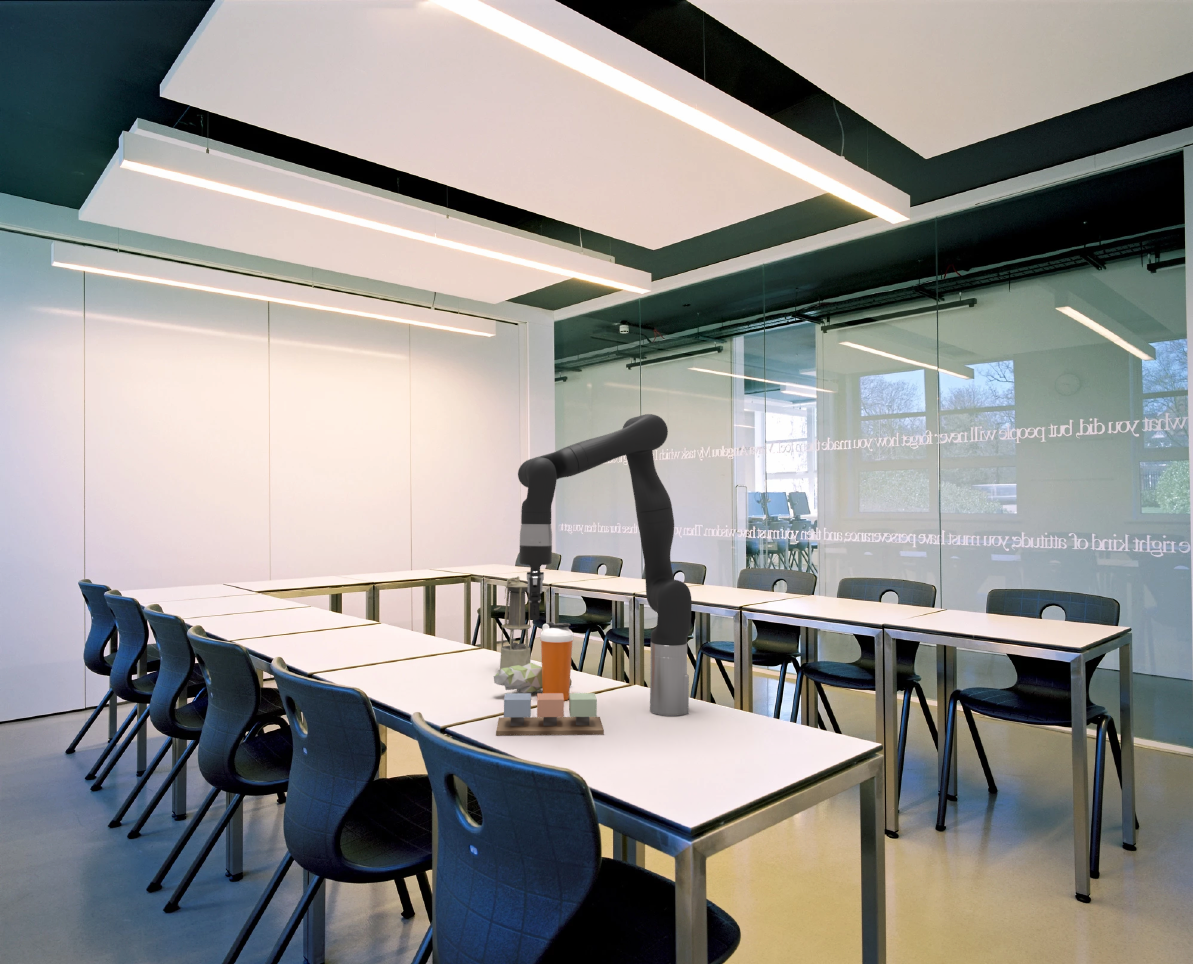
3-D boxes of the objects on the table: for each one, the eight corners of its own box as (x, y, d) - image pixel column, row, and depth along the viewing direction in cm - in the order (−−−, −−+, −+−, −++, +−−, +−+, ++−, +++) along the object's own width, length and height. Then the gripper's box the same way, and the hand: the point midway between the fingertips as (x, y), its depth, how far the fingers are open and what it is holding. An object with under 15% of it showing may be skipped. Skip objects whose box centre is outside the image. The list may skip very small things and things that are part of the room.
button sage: (594, 709, 172) (594, 693, 172) (596, 716, 166) (596, 699, 166) (569, 710, 172) (569, 693, 172) (570, 716, 166) (570, 699, 166)
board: (599, 721, 175) (599, 708, 175) (603, 734, 164) (604, 721, 164) (498, 721, 173) (499, 708, 173) (496, 735, 162) (496, 721, 162)
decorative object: (556, 680, 214) (483, 673, 199) (573, 660, 210) (500, 651, 195) (565, 706, 208) (491, 700, 193) (583, 685, 204) (509, 678, 189)
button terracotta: (562, 710, 172) (563, 693, 172) (563, 717, 166) (563, 699, 166) (537, 710, 171) (537, 693, 171) (537, 717, 165) (537, 699, 165)
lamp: (538, 673, 226) (540, 576, 228) (504, 679, 217) (506, 578, 219) (517, 668, 234) (519, 574, 235) (484, 674, 225) (486, 576, 226)
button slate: (530, 710, 171) (531, 693, 171) (530, 717, 165) (530, 699, 165) (504, 710, 171) (505, 693, 171) (503, 717, 165) (504, 699, 165)
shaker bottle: (567, 703, 191) (569, 626, 192) (535, 701, 192) (536, 624, 193) (575, 695, 199) (576, 621, 200) (544, 693, 201) (545, 620, 202)
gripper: (552, 545, 163) (551, 622, 162) (551, 542, 177) (550, 614, 177) (518, 544, 163) (517, 622, 162) (520, 542, 177) (519, 614, 176)
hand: (534, 617), depth 169 cm, fingers open, 4 cm apart
